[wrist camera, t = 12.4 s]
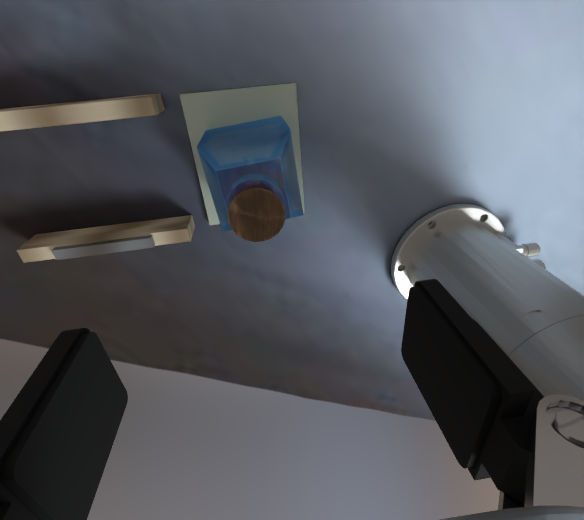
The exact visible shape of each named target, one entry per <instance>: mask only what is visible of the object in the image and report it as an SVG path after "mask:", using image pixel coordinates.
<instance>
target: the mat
mask: <svg viewBox="0 0 584 520" xmlns="http://www.w3.org/2000/svg"><path fill="white" fill-rule="evenodd" d="M180 99H181V104H182V108H183V112H184V116H185V121H186V125H187V129H188V134H189V138H190V142H191V147H192V151H193V155H194V159H195V164H196V168H197V172H198V177H199V181H200V185H201V190H202V194H203V198H204V202H205V207H206V211H207V215H208V220H209V224H210V225H217V224H220V222H219V218H218V215H217V212H216V209H215V205H214V202H213V199H212V196H211V192H210V189H209V186H208V183H207V179H206V176H205V173H204V170H203V166H202V163H201V160H200V156H199V153H198V150H197V145H198V143H199V142H200V140H201V138H202V136H203V134H204V133H205V131H206V130H210V129H215V128H220V127H225V126H230V125H235V124H241V123H246V122H251V121H256V120H261V119H266V118H271V117H276V116H282V118H283V119H284V121H285V122H286V123H287V125H288V126H289V128H290V130H291V137H292V143H293V150H294V156H295V163H296V169H297V176H298V182H299V188H300V195H301V201H302V208H303V214H304V213H305V211H304V196H303V181H302V166H301V150H300V135H299V120H298V105H297V89H296V83H288V84H278V85H268V86H258V87H248V88H238V89H228V90H218V91H208V92H198V93H188V94H180Z"/></svg>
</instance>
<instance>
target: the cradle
mask: <svg viewBox="0 0 584 520" xmlns="http://www.w3.org/2000/svg"><path fill="white" fill-rule="evenodd" d="M164 110H165V109H164V105H163V101H162V97H161V94H160V93H158V94H148V95H138V96H128V97H118V98H108V99H98V100H87V101H77V102H67V103H57V104H47V105H37V106H27V107H17V108H7V109H0V131H9V130H19V129H29V128H38V127H48V126H58V125H67V124H77V123H87V122H96V121H106V120H116V119H125V118H135V117H145V116H154V115H158V114H159V113H161V112H163V111H164ZM194 228H195V225H194V221H193V217H192V215H188V216H180V217H172V218H164V219H156V220H148V221H139V222H131V223H123V224H115V225H107V226H99V227H91V228H83V229H75V230H67V231H59V232H51V233H43V234H36V235H35V236H33V237H32V238H31V239H30V240H28V241H27V242H26V243H25V244H24V245H22V246H21V247H20V248H19V249H18V250H17V252H18V254H19V255H20V257H21V259H22V260H23V262H24V263H25V262H33V261H40V260H48V259H56V260H60V259H68V258H76V257H83V256H91V255H99V254H107V253H114V252H122V251H130V250H138V249H145V248H153V247H154V246H157V245H165V244H172V243H180V242H188V241H191V238H192V235H193V232H194Z"/></svg>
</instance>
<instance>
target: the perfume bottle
mask: <svg viewBox="0 0 584 520" xmlns="http://www.w3.org/2000/svg"><path fill="white" fill-rule="evenodd" d="M197 150H198V153H199V156H200V160H201V163H202V166H203V170H204V173H205V176H206V179H207V183H208V186H209V189H210V192H211V196H212V199H213V202H214V205H215V209H216V212H217V215H218V218H219V222H220V225H221V228H222V231H227V230H233V231H234V232H235V233H236V234H237V235H238V236H239V237H241V238H243V239H245V240H248V241H253V242H260V241H265V240H268V239H271V238H272V237H274V236H275V235H276V234H278V233H279V231H280V230H281V228H282V227H283V225H284V221H285V219H287V218H292V217H296V216H301V215H304V214H303V208H302V201H301V195H300V188H299V182H298V176H297V169H296V163H295V156H294V150H293V143H292V137H291V130H290V128H289V126H288V125H287V123H286V122H285V121H284V119H283V118H282V116H276V117H271V118H266V119H261V120H256V121H251V122H246V123H241V124H235V125H230V126H225V127H220V128H215V129H210V130H206V131H205V133H204V134H203V136H202V138H201V140H200V142H199V143H198V145H197Z"/></svg>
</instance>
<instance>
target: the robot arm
mask: <svg viewBox="0 0 584 520" xmlns="http://www.w3.org/2000/svg"><path fill="white" fill-rule="evenodd" d="M539 253H540V247H539V245H538V244H537V243H528V244H522V245H519V246H518V245H517V244H515V243H514V242H512V241H511V240H509V239H508V238H506V233H505V230H504V227H503V225H502V223H501V222H500V220H499V219H498V218H497V217H496V216H495V215H494V214H492V213H491V212H490V211H488V210H486V209H484V208H482V207H480V206H476V205H473V204H455V205H449V206H446V207H442V208H439V209H437V210H435V211H433V212H431V213H429V214H427V215H425V216H424V217H422V218H421V219H420V220H418V221H417V222H416V223H415V224H414V225H412V226H411V227H410V228H409V229H408V230H407V232H406V233H405V234H404V235H403V237H402V238H401V239H400V241H399V243H398V245H397V246H396V248H395V251H394V254H393V257H392V262H391V276H392V279H393V282H394V284H395V286H396V288H397V289H398V291H399V292H400V293H401V294H402V296H403V297H404V298H406V299H407V300H408V301H407V309H406V317H405V325H404V333H403V340H402V348H401V351H402V357H403V360H404V362H405V364H406V365H407V367H408V369H409V371H410V373H411V375H412V377H413V379H414V380H415V382H416V384H417V386H418V388H419V390H420V392H421V393H422V395H423V397H424V399H425V401H426V403H427V405H428V407H429V408H430V410H431V412H432V414H433V416H434V418H435V420H436V421H437V423H438V425H439V427H440V429H441V431H442V433H443V434H444V436H445V438H446V440H447V442H448V444H449V446H450V448H451V449H452V451H453V453H454V455H455V457H456V459H457V460H458V462H459V464H460V465H461V466H462V467H463V468H468V470H469V471H470V473H471V475H472V476H473V479H474V480H479V479H485V478H490V477H491V479H492V480H493V482H494V484H495V485H496V487H497V489H498V490H500V493H499V502H498V510H496V511H490V512H484V513H477V514H471V515H466V516H459V517H452V518H446V519H440V520H584V296H583V295H582V294H580V293H579V292H578V291H576V290H575V289H573V288H572V287H570V286H569V285H567V284H566V283H564V282H563V281H561V280H560V279H559V278H557V277H556V276H554V275H553V274H551V273H550V272H548V271H547V270H545V268H546V267H545V265H544V263H543V262H542V261H541V260H539V259H535V260H531V259H529V258H528V257H530V256H536V255H538V254H539ZM127 400H128V395H127V391H126V389H125V387H124V385H123V384H122V382H121V380H120V378H119V376H118V374H117V372H116V370H115V368H114V367H113V365H112V363H111V361H110V359H109V357H108V355H107V353H106V351H105V349H104V348H103V346H102V344H101V342H100V340H99V338H98V336H97V335H96V333H94V332H90V331H89V330H88V329H87V328H81V329H73V330H66V331H63V332H61V333H60V334H59V336H58V337H57V339H56V340H55V342H54V343H53V344H52V346H51V347H50V349H49V350H48V352H47V353H46V355H45V356H44V358H43V359H42V361H41V362H40V364H39V365H38V366H37V368H36V369H35V371H34V372H33V374H32V375H31V377H30V378H29V380H28V381H27V382H26V384H25V385H24V387H23V388H22V390H21V391H20V393H19V394H18V395H17V397H16V399H15V400H14V402H13V403H12V404H11V406H10V407H9V409H8V410H7V412H6V413H5V414H4V416H3V417H2V419H1V420H0V520H87V517H88V514H89V511H90V509H91V505H92V503H93V500H94V497H95V494H96V491H97V488H98V485H99V483H100V480H101V477H102V474H103V471H104V468H105V465H106V462H107V460H108V457H109V454H110V451H111V448H112V445H113V442H114V439H115V437H116V434H117V431H118V428H119V425H120V422H121V419H122V416H123V413H124V411H125V408H126V404H127Z"/></svg>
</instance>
